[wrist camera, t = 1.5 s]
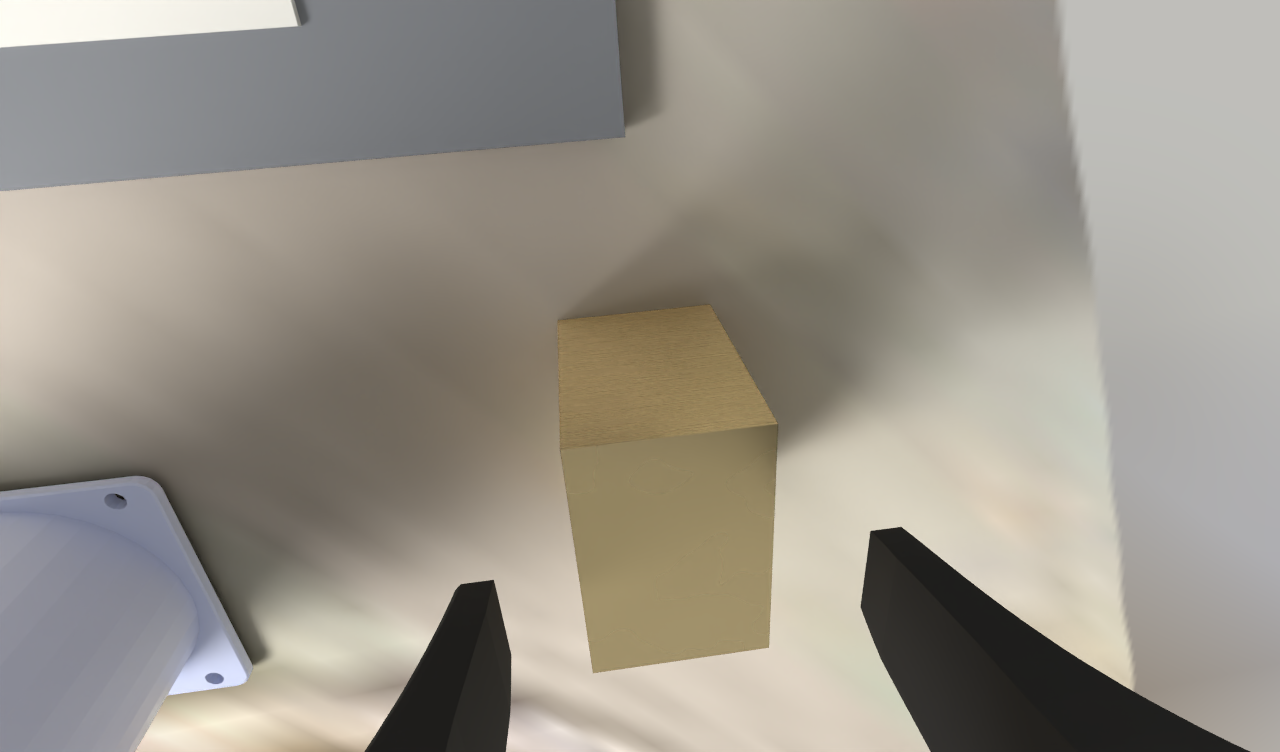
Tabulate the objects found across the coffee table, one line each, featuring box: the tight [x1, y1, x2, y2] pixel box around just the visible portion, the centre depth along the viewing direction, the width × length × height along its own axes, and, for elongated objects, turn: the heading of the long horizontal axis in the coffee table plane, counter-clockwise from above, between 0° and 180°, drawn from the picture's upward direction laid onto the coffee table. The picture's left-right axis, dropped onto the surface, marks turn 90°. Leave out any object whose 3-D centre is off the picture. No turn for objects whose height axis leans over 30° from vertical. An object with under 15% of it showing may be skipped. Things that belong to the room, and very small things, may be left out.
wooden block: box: [558, 305, 778, 673], centre depth 16 cm, size 4×6×6 cm, turn 4°
